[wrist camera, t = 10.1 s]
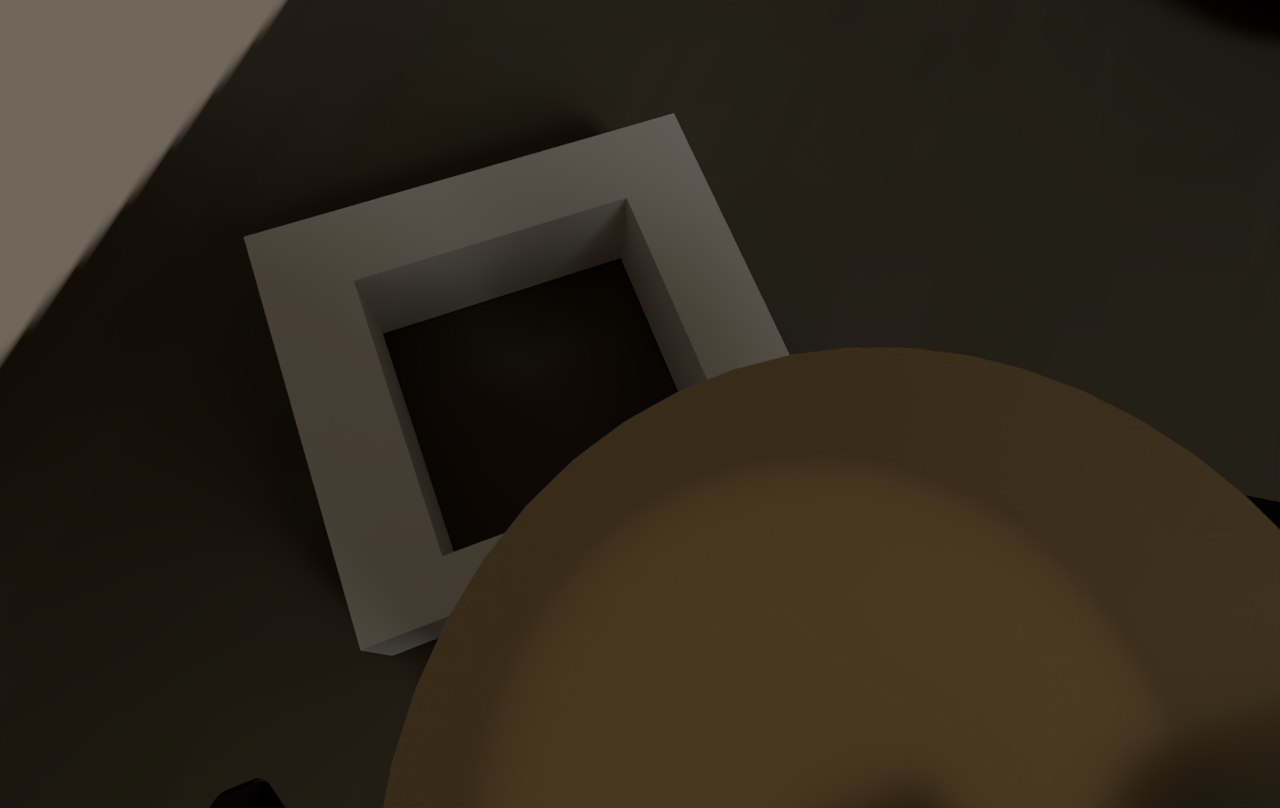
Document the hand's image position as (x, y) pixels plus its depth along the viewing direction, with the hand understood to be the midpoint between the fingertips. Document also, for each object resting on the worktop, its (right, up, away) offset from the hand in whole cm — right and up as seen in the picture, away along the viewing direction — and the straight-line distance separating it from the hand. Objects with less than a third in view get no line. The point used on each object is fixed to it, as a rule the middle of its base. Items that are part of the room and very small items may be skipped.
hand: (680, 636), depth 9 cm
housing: (-2, +3, +9) cm, 9 cm away
